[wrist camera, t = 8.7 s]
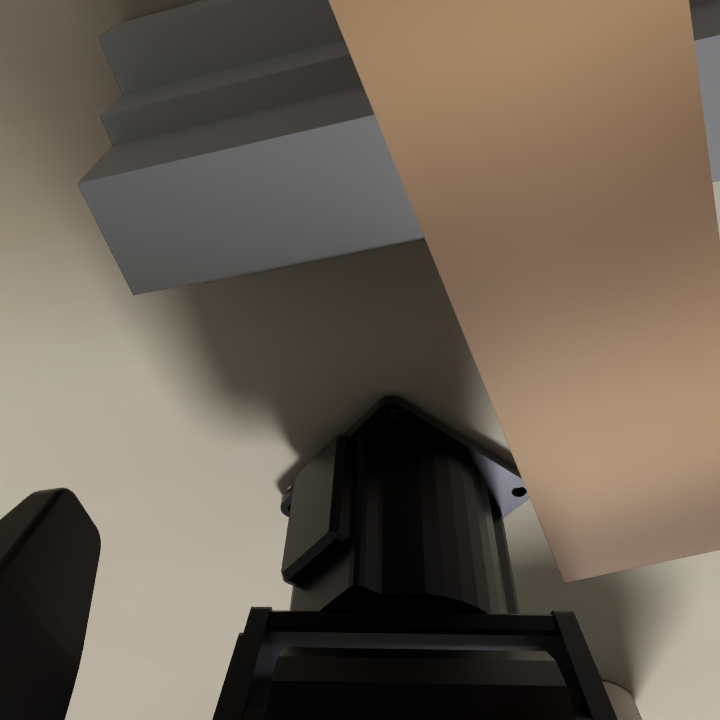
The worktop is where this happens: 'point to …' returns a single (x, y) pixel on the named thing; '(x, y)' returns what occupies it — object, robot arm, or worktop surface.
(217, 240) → the ridge
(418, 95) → the brown wooden bar
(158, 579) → the worktop surface
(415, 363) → the worktop surface
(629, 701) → the coffee cup
